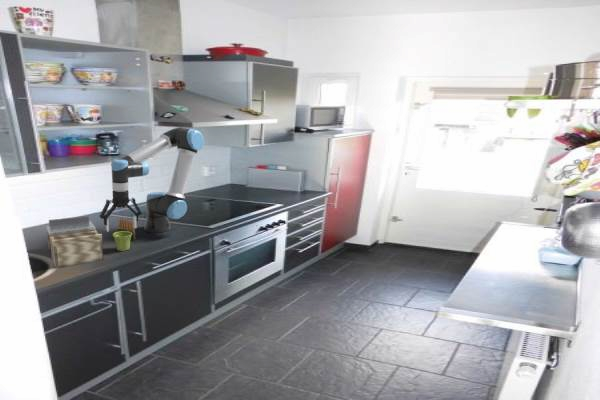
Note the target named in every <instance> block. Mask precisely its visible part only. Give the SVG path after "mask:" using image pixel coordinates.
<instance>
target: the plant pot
mask: <svg viewBox="0 0 600 400" xmlns="http://www.w3.org/2000/svg"><path fill="white" fill-rule="evenodd" d="M131 235H132V232H129V231H120V232H118V231H115V232H114V233H112V237H113V238H114V241H115V246H116V250H117V251H119V252H126V251H127V250H130V246H131V239H130V238H131Z"/></svg>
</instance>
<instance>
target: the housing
mask: <svg viewBox="0 0 600 400" xmlns="http://www.w3.org/2000/svg"><path fill="white" fill-rule="evenodd" d="M46 234H47V245H48V246H47V247H48V249H49V250H50V251H51V259H52V262H53V265H54V266H55V269H58V268H64V267H70V266H75V265H82V264H86V263H93V262H94V263H95V262H100V261H104V252H103V251H104V250H103V234H102V233H99V232H98V231H97V230H96V229H95V230H88V231H80V232H73V233H65V234H57V235H49V232H48V230H47V229H46ZM99 260H100V261H99Z"/></svg>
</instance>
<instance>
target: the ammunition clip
mask: <svg viewBox="0 0 600 400" xmlns="http://www.w3.org/2000/svg"><path fill="white" fill-rule="evenodd" d="M120 231H129V232H132V235H131V238H130V241H131V240H133V241H135V240H136V239H137V237H136V228H134V219H133V218H132V219H130V218H128V217H127V218H125V217H124V218H123V217H118V228H117V232H120Z"/></svg>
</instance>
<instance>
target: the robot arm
mask: <svg viewBox="0 0 600 400" xmlns="http://www.w3.org/2000/svg"><path fill="white" fill-rule="evenodd" d="M204 142H205V141H204V136H203V134H202V132H201V131H199V130H197V129H194V128H185V127H175V128H172V129H169V130H167V131H165V132H163V133H162V134H160V135H159V137H158V138H156V139H155V140H153V141H151V142H149V143H147V144H145V145H143V146H142V147H140V148H138V149H136V150H134V151H132V152H131V153H129V154H127V155H125V156H123V157H121V158H120V157H117V158H114V159H112V160H111V163H110V167H111V183H112V185H111V187H112V199H106V200H105V205H104V206H103V208H102V209H101V213H100V214H99V218H100V219H102V220H103V224H104V226H105V229H106V232H110V226H109V225H110V223H109V222H110V221H109V217H110V216H111V215H112V214H113V212H114V211H115V210H116V209H123V208H127V209H129V210H130V212H132V213H133V218H132V219H133V220H134V228H135V229H137V222H138V223H139V217H140V215H142V214H143V213H142V211H141V210H140V208H139V206H138V203H136V202H137V201H136V199H135V198H134V197H131V198H129V195H130V194H129V178H137V177H138V178H139V177H144V176H147V175H149V172H150V166H149V164H148V163H147V162H146V161H147V160H149V159H151V158H153V157H155V156H157V155H158V154H160V153H162V152H164V151H165V150H170V149H172V148H175V147H176V149H177V151H178V156H177V159H176V162H175V166H174V170H173V174H172V178H171V182H170V185H169V189H168V191H167V192H165V191H156V192H150V193H148V194H147V195H146V220H145V224H144V227H143V229H144V231H145V232H146V233H147V232H148V233H153V234H156V233H157V234H158V233H165V232H167V231H169V230H171V224H170V220H169V219H174V220H178V219H181V218H182V217H184V215H186V213H187V209H188V205H187V202H186V201H185V200H186V197H185V195H184V194H185V190H186V186H187V182H188V180H189V179H188V178H189V174H190V171H191V166H192V164H193V160H194V156H196V155H197V154H198V151H200V150H201V149H202V148H203V147H204V144H205V143H204ZM130 202H131V203H132V204H133V206H134V208H135V209H136V211H135V209H133V208H132V207H131V206H130V205H129V203H130ZM111 204H112V205H111ZM110 205H111V207H109V206H110ZM109 208H110V209H109Z"/></svg>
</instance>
